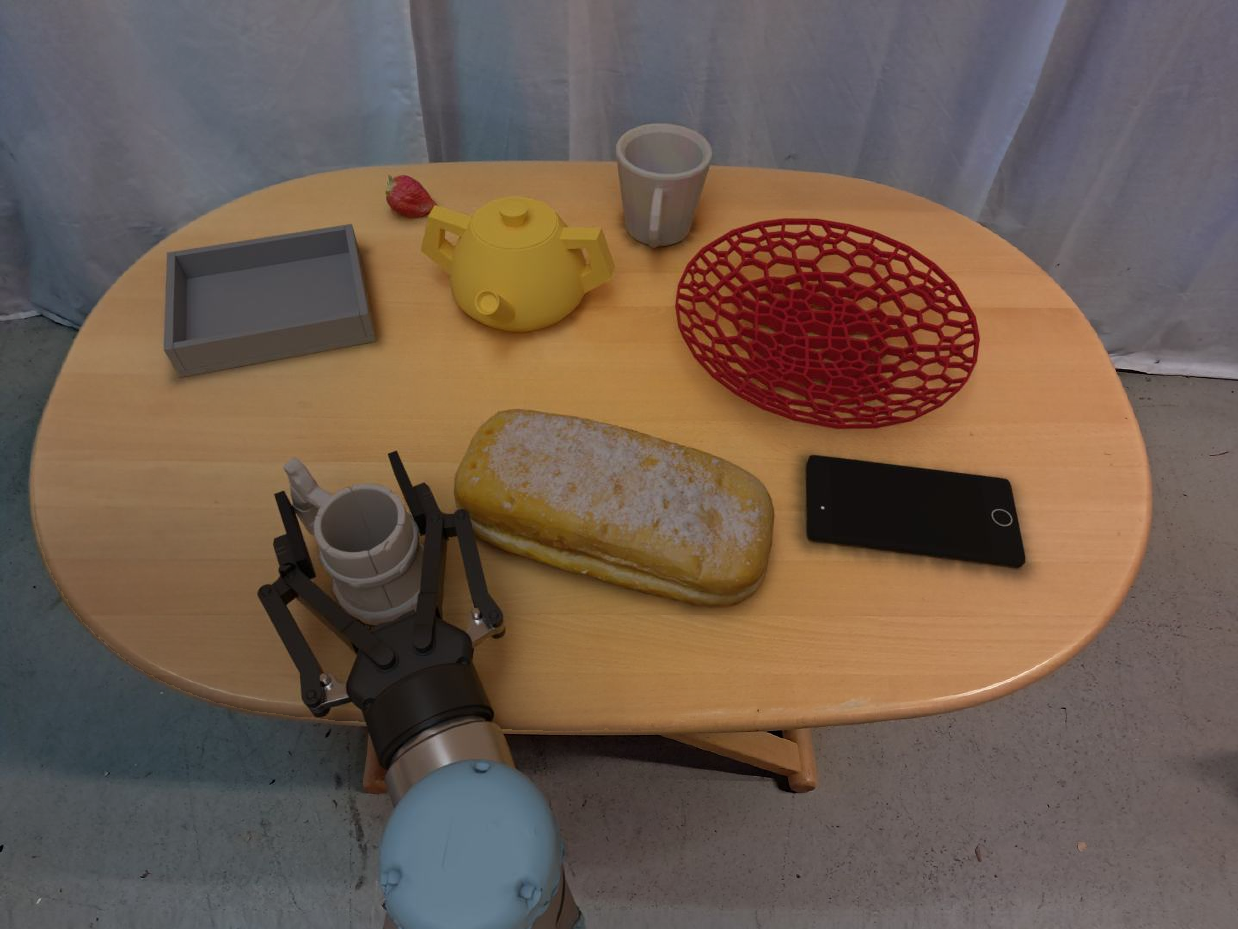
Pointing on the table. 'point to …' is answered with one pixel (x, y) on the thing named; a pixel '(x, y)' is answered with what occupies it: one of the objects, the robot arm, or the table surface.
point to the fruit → (408, 197)
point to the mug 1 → (362, 544)
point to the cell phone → (912, 510)
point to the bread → (617, 506)
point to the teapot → (517, 262)
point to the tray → (265, 300)
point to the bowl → (824, 327)
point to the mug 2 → (661, 180)
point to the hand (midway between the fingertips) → (341, 482)
